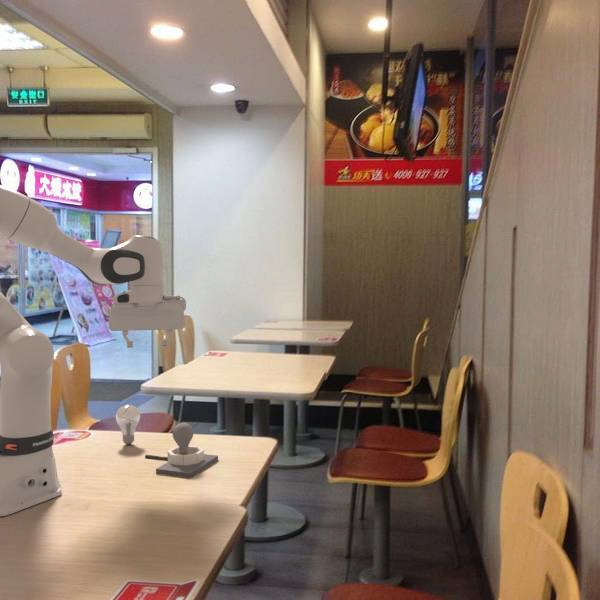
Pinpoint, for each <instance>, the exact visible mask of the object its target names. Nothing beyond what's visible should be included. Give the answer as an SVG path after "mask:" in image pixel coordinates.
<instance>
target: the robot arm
mask: <svg viewBox="0 0 600 600" xmlns="http://www.w3.org/2000/svg"><path fill="white" fill-rule="evenodd" d="M0 236H1V237H3V238H5V239H7V240H9V241H12V242H14V243H16V244H19V245H21V246H24V247H28V248H31V249H34V250H38V251H42V252H46V253H48V254H50V255H53V256H54V257H56V258H58V259H60V260H62V261H64V262H66V263H68V264H70V265H72V266H73V267H75V268H76V269H77V270H78V271H79V272H81V274H82V275H83V276H84V277H85V278H86V280H87V281H89V282H90V283H91V284H94V285H98V286H106V285H115V286H116V285H117V286H118V285H122V284H125V283H126V284H127V283H129V290H127V291H126V290H124V291H122V292H121V293H117V294H115V295H113V297H112V302H113V305H111V307H110V309H109V313H108V314H109V315H108V323H107V324H108V327H107V328H108V330H110V331H111V332H121V333H122V337H123V338H124V340H125V342H126V348H133V347H134V344H133V343H134V340H130V338H129V337H128V335H129V331H131V332H132V331H134V332H135V331H164V330H165V331H166V334H167V337H166V338H165V339H164V338H163V339H162V347H169V340H170V338H171V337H172V335H173V330H174V331H175V330H184V328H186V317H185V311H186V309H187V300H186V299H185V298H184V297H182V296H181V295H178V294H177V295H164V282H163V277H162V276H163V275H162V274H163V271H164V263H163V262H164V261H163V250H162V245H161V242H160V241H159V240H158V239H157V238H155V237H153V236H149V235H140V234H139V235H138V234H135V235H132V236H131V237H130V238H129V239H127V240H126V241H124V242H122V243H120V244H117V245H115V246H113V247H109V248H103V247H102V248H100V247H91V246H88V245H86V244H85V243H82V242H81V241H79V240H77V239H74V238H73V237H71V236H70V235H68V234H66V233H65V232H63V231H62V230H61V228H59V226H58V222H57V218H56V216H55V214H54V213H53V212H52V211H51V210H49V209H48V208H47V207H46V206H44V205H43V204H41V203H40V202H38V201H37V200H34V199H33V198H31V197H29V196H27V195H25V194H23V193H20V192H18V191H17V190H15V189H11V188H9V187H6V186H3V185H1V184H0ZM54 356H55V351H54V346H53V343H52V341H51V339H50V338H49V336H48V335H46V334H44V332H42V331H40V330H37V329H36V328H34V327H33V326H32V325H31V323H29V321H28V320H26V318H25V317H24V316H23V315H22V314H21V313H20V312H19V311H18V309H17V308H16V307H15V306H14V305H13V304H12V303H11V302H10V300H9V299H8V298H7V297H6V296H5V295H4V294H3V293H2V292H1V291H0V517H5V516H9V515H11V514H14V513H17V512H20V511H22V510H25V509H28V508H29V507H33V506H36V505H39V504H41V503H43V502H47V501H49V500H51V499H53V498H56V497H59V496H61V495H62V494H63V493H62V488H61V484H60V481H59V480H60V479H59V478H58V469H57V463H56V457H55V455H54V450H53V445H54V438H55V436H54V429H53V428H52V417H51V415H52V412H51V411H52V410H51V392H52V384H53V383H52V382H53V372H54Z"/></svg>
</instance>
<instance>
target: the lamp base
mask: <svg viewBox="0 0 600 600" xmlns="http://www.w3.org/2000/svg"><path fill="white" fill-rule="evenodd" d="M144 457H145V458H146V459H155V460H164V461H168V462H165V463H164V464H162V465H160V466H158V467H157V468H155V474H156V475H165V476H173V477H180V478H181V477H182V478H189V479H191V478H192V477H194V476H196V475H197V474H199V473H200V472H202V471H203V470H205V469H206V468H208V467H209V466H211V465H214V463H216V462H218V461H219V455H215V454H205V450H204V448H202V447H201V446H199V445H190V444H189V445H188V454H187V455H180V452H179V446H175V447H172V448H171V449H168V450H167V456H161V455H151V454H145V455H144Z"/></svg>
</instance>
